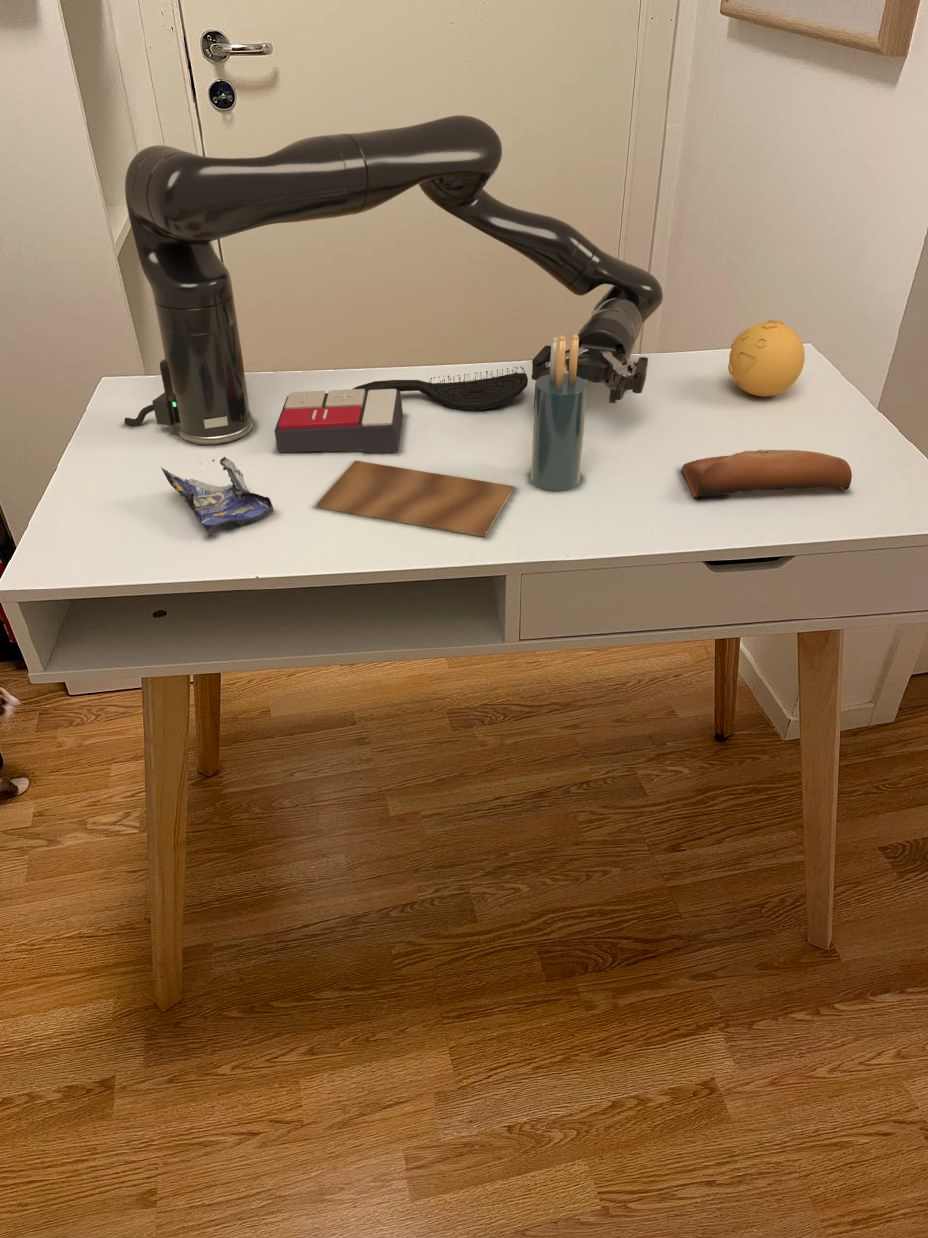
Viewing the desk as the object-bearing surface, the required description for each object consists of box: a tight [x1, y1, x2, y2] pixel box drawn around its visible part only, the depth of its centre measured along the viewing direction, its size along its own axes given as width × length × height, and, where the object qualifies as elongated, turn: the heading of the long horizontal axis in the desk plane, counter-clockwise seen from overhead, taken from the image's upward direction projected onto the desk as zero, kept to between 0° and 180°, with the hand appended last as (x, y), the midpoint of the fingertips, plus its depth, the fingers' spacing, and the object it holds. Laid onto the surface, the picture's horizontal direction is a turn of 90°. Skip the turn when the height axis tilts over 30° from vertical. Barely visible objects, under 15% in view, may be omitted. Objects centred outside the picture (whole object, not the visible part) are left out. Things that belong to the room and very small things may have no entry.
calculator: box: [274, 388, 404, 454], centre depth 123 cm, size 11×4×15 cm
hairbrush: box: [352, 365, 529, 412], centre depth 132 cm, size 8×4×25 cm
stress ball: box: [727, 319, 806, 397], centre depth 131 cm, size 10×10×10 cm
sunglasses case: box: [681, 449, 853, 499], centre depth 113 cm, size 18×7×7 cm, turn 96°
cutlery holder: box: [530, 333, 588, 492], centre depth 109 cm, size 6×6×18 cm
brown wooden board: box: [316, 460, 514, 538], centre depth 111 cm, size 20×11×1 cm, turn 72°
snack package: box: [160, 456, 274, 538], centre depth 107 cm, size 12×6×12 cm
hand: (577, 391), depth 118 cm, fingers open, 8 cm apart
